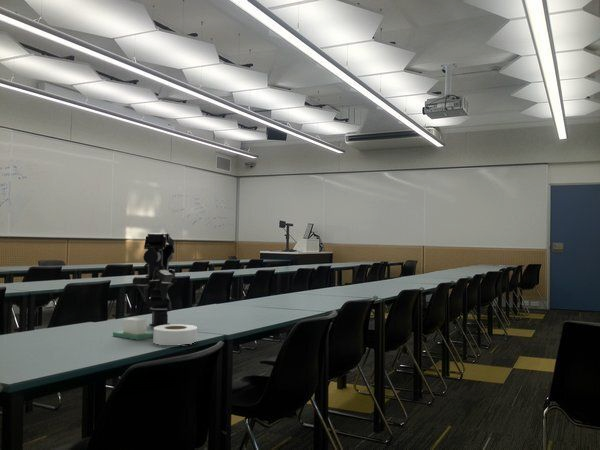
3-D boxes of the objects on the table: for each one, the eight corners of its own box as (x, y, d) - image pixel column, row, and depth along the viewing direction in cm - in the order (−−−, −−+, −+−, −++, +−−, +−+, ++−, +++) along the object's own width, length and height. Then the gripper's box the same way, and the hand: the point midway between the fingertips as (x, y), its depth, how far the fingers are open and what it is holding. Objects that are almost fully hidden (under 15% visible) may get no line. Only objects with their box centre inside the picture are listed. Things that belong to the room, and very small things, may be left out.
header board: (113, 336, 204) (113, 325, 204) (132, 332, 212) (132, 322, 212) (137, 340, 196) (137, 329, 197) (155, 336, 204) (156, 325, 204)
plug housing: (123, 331, 204) (123, 318, 205) (132, 330, 208) (132, 317, 208) (136, 334, 200) (137, 320, 200) (146, 332, 204) (146, 319, 204)
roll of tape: (197, 337, 204) (197, 323, 204) (196, 346, 188) (197, 330, 188) (155, 338, 201) (155, 324, 201) (151, 347, 185) (151, 331, 185)
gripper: (150, 264, 207) (149, 304, 207) (185, 263, 223) (185, 300, 222) (132, 263, 213) (131, 302, 213) (167, 262, 229) (166, 298, 228)
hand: (154, 300), depth 219 cm, fingers open, 9 cm apart
